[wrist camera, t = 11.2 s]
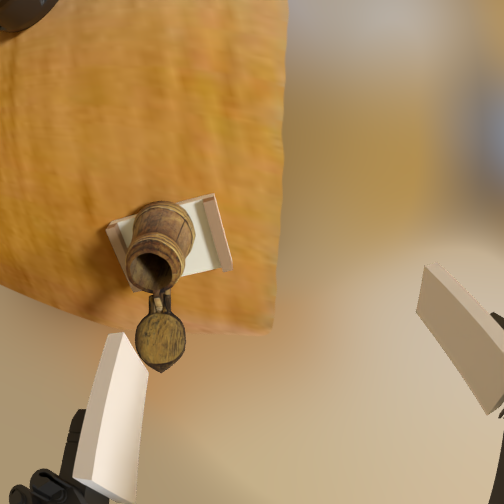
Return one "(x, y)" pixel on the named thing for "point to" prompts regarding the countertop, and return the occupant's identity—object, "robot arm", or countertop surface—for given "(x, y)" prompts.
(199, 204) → the ledge board
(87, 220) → the countertop surface
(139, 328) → the wooden mug
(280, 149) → the countertop surface
